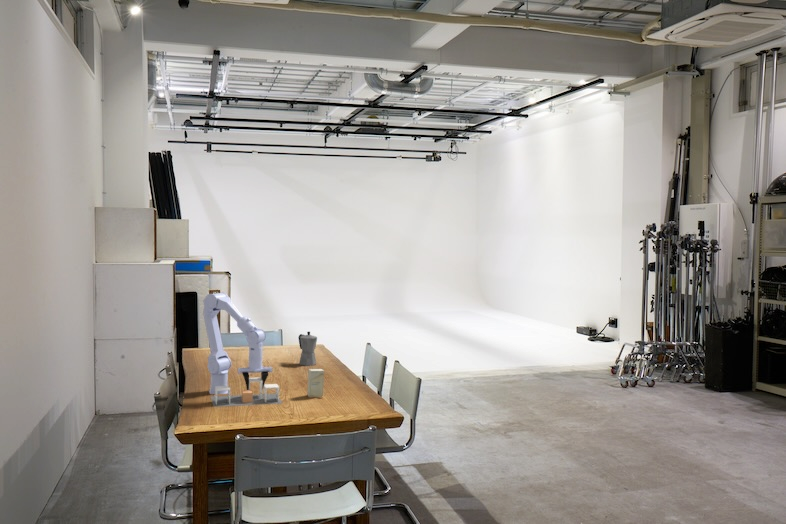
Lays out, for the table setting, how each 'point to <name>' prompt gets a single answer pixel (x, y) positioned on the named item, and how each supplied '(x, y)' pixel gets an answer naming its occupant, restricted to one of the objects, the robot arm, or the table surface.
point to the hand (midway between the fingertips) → (254, 389)
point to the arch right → (271, 386)
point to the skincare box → (315, 382)
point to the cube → (247, 396)
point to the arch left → (222, 388)
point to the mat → (237, 401)
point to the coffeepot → (307, 349)
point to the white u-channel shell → (256, 381)
